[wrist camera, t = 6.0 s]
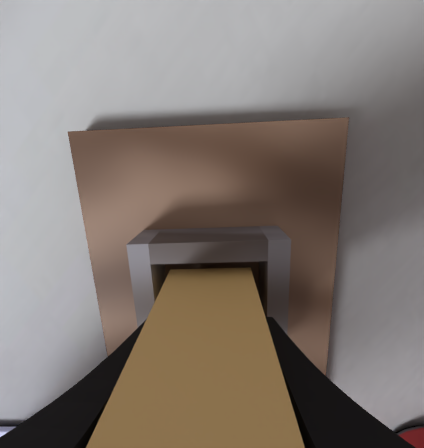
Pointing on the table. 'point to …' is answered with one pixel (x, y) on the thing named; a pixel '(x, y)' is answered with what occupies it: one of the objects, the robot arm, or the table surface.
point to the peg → (201, 372)
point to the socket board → (215, 216)
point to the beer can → (413, 436)
